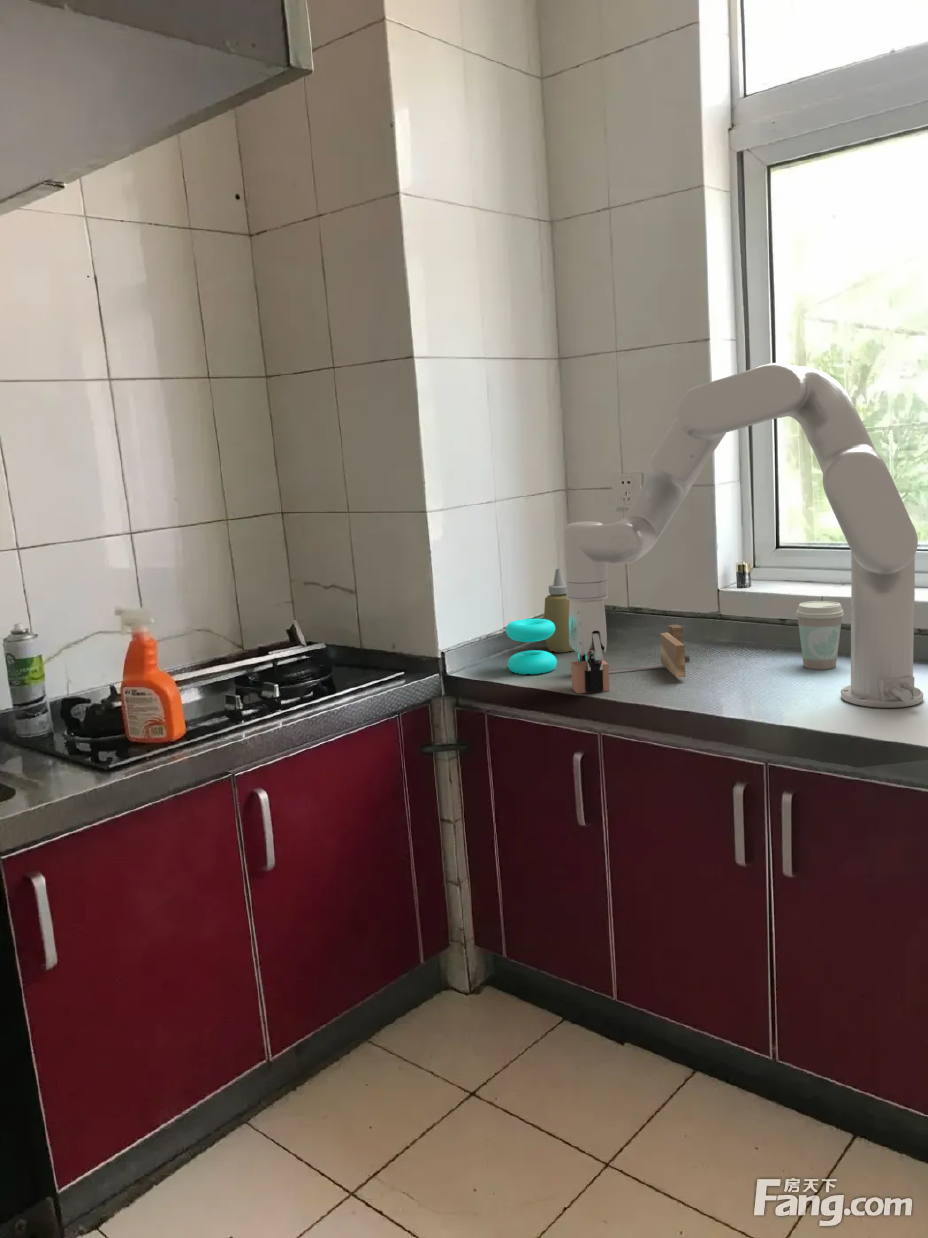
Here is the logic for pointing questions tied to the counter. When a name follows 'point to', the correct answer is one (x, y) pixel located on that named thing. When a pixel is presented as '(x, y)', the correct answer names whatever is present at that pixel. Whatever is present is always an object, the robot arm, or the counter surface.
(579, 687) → the salmon pink block
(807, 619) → the coffee cup
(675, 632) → the door frame
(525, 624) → the donuts
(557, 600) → the squeeze bottle
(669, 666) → the door
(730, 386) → the robot arm
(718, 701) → the counter surface
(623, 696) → the counter surface
